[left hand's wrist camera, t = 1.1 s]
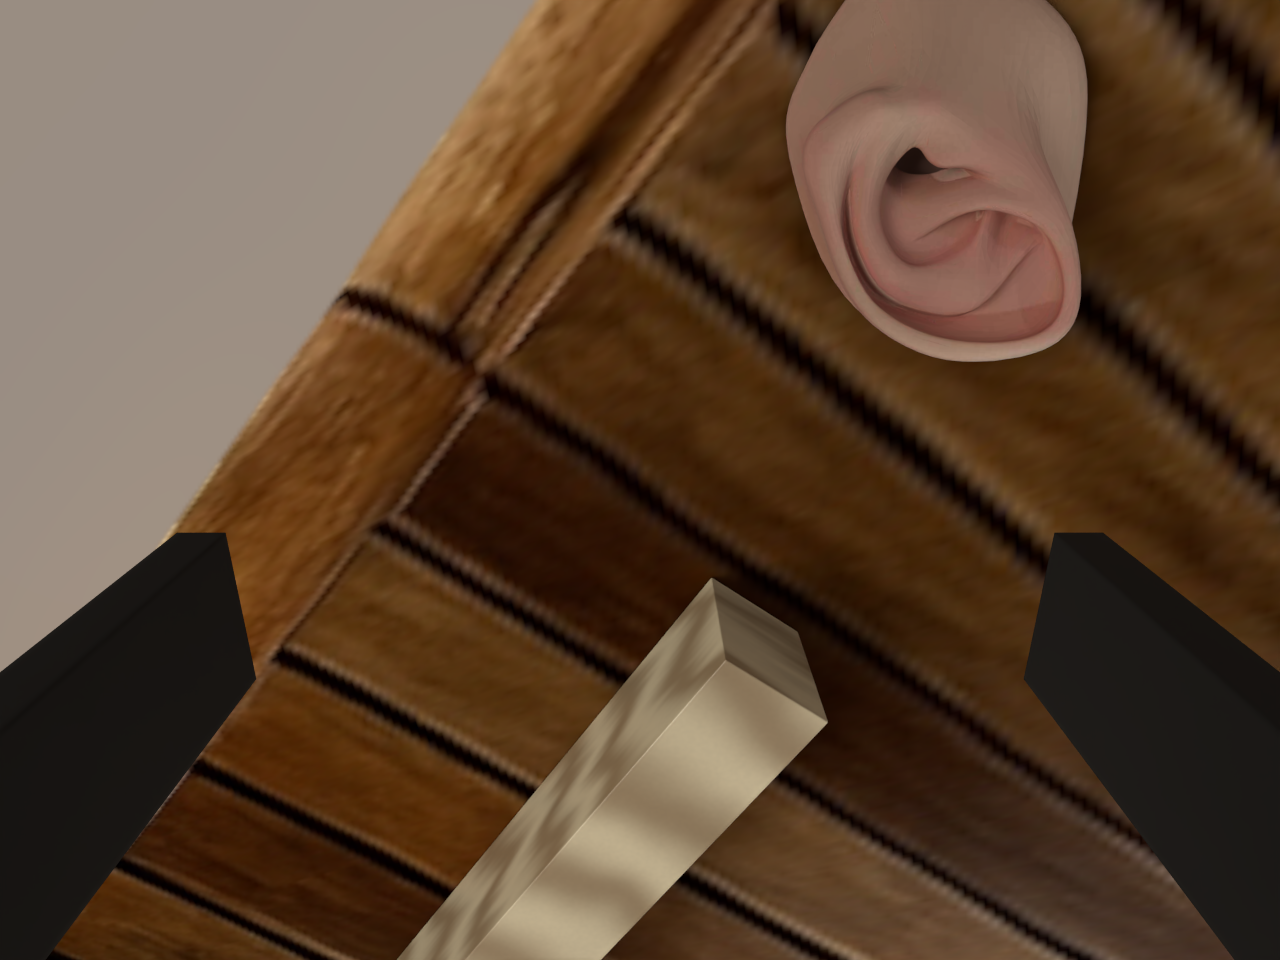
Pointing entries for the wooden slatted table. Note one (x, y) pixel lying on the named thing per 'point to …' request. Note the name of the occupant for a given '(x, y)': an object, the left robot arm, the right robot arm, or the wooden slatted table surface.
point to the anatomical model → (946, 170)
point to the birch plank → (638, 791)
